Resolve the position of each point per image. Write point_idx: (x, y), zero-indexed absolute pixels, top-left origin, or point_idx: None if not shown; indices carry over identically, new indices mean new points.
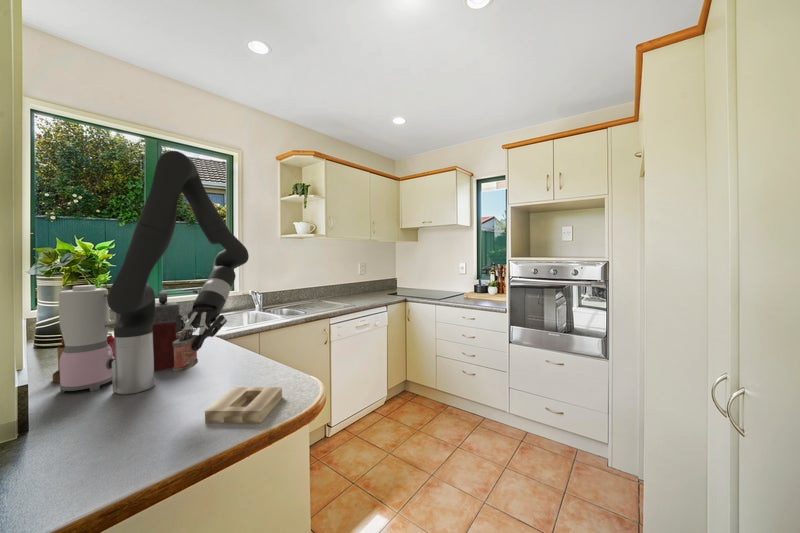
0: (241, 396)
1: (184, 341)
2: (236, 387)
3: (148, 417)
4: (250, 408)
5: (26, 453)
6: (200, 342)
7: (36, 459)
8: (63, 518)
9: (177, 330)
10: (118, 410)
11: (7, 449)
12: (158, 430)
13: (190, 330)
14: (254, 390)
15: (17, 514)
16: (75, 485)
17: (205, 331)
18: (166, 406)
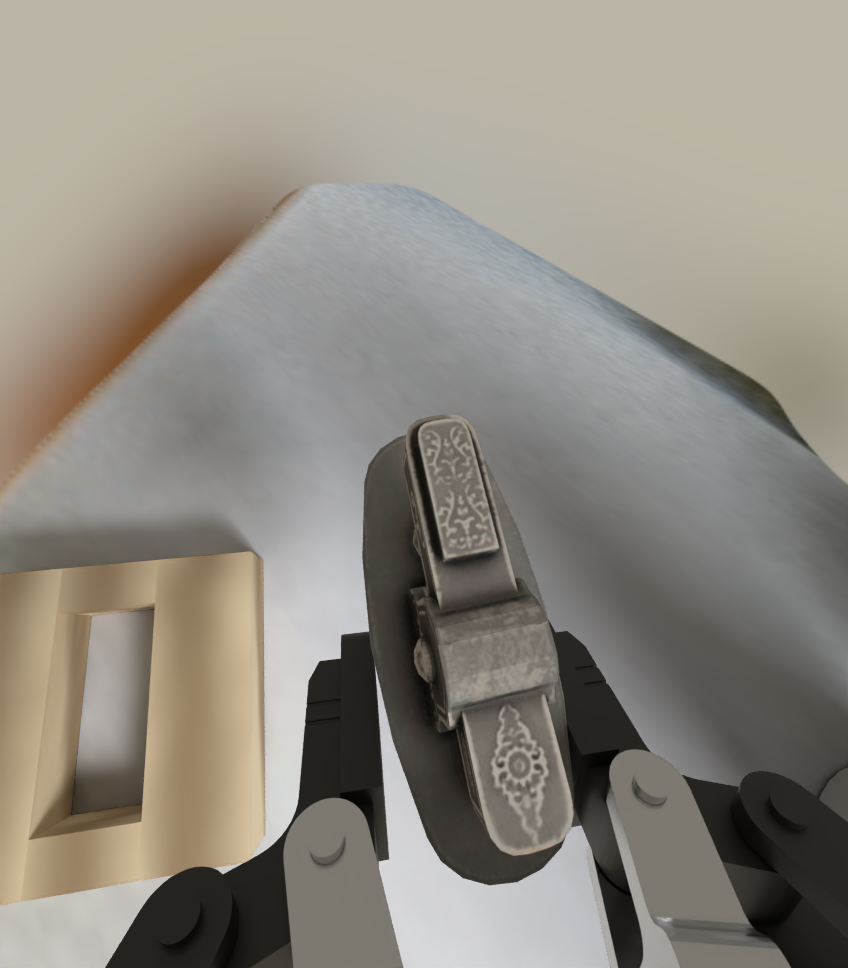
0: (149, 746)
1: (369, 501)
2: (233, 860)
3: None
4: (25, 595)
5: (669, 361)
6: (309, 724)
7: (609, 341)
8: (323, 196)
9: (776, 798)
10: (704, 615)
11: (741, 373)
12: None
13: (444, 704)
14: (88, 833)
15: (426, 204)
16: (399, 268)
17: (277, 925)
18: None
